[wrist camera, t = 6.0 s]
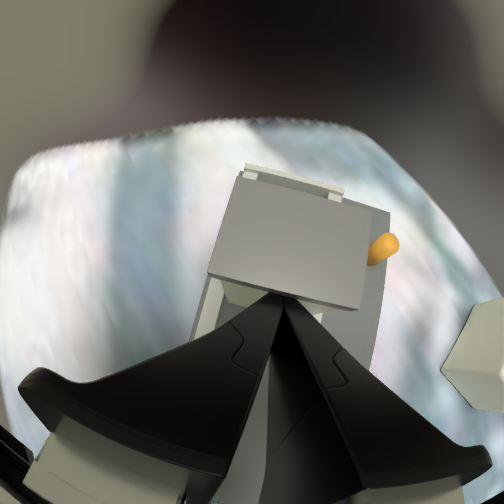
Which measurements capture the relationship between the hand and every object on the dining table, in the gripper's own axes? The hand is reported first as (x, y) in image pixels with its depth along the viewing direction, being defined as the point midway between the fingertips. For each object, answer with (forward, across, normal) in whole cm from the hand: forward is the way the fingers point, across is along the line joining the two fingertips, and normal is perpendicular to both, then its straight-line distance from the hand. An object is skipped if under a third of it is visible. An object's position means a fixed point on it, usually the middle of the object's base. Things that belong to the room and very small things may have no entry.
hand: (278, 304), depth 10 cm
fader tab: (+8, 0, -5) cm, 9 cm away
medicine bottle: (+6, +20, -7) cm, 22 cm away
